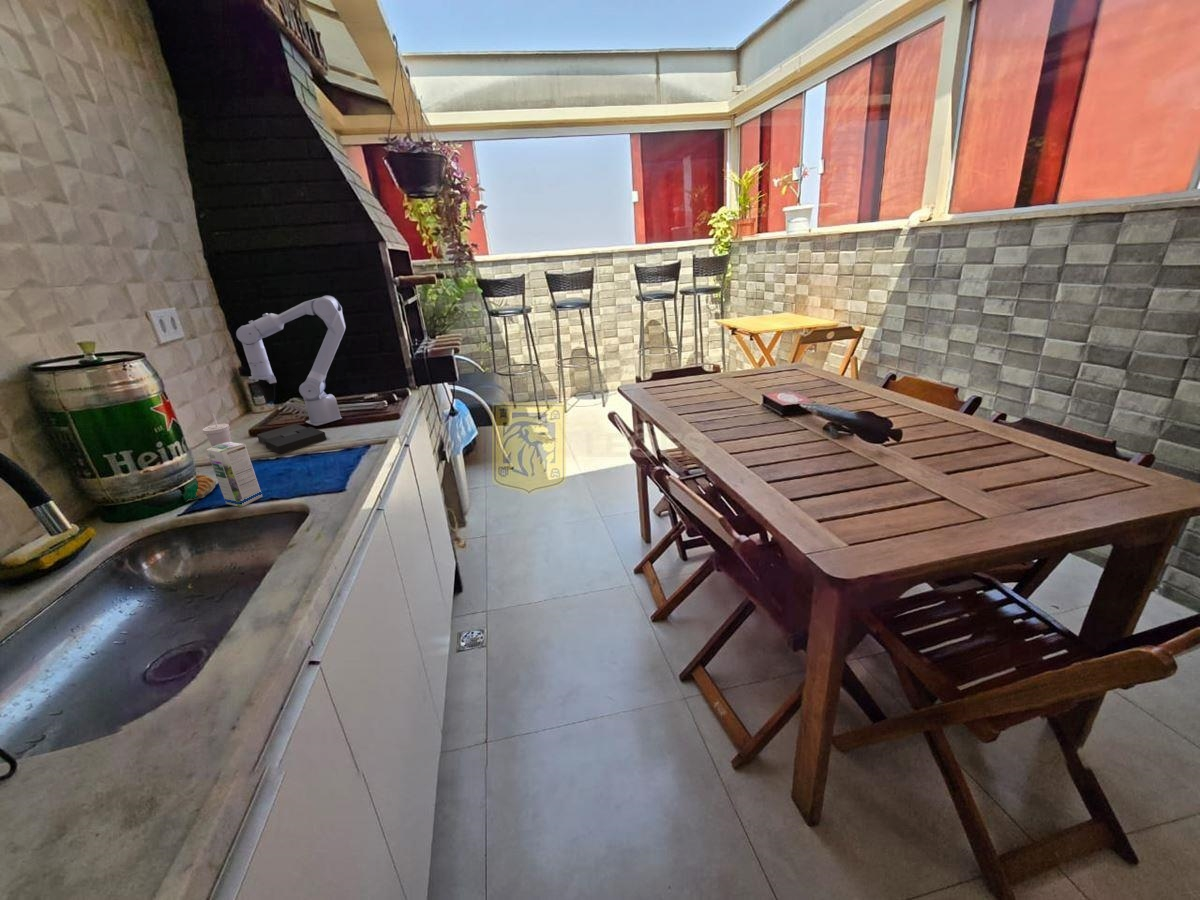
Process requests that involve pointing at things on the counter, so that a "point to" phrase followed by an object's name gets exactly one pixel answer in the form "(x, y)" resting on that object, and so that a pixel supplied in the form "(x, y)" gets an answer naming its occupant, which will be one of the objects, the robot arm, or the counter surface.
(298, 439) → the base pad
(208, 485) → the pastry
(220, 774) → the counter surface
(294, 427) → the loose pad
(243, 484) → the syrup box
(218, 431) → the smoothie
